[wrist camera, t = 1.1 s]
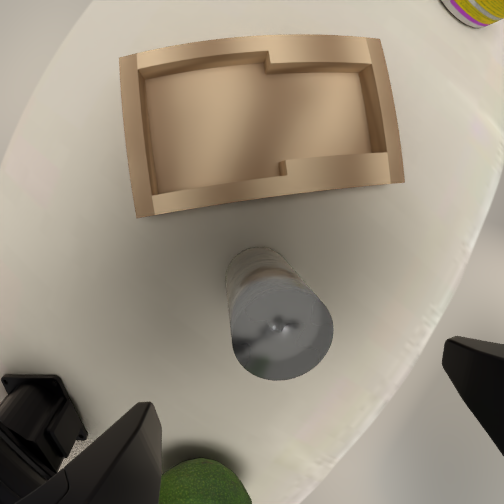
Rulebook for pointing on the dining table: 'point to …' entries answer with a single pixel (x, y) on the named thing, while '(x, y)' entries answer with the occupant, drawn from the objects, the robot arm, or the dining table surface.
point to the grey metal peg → (274, 316)
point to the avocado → (202, 484)
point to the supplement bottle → (476, 11)
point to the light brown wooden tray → (257, 120)
